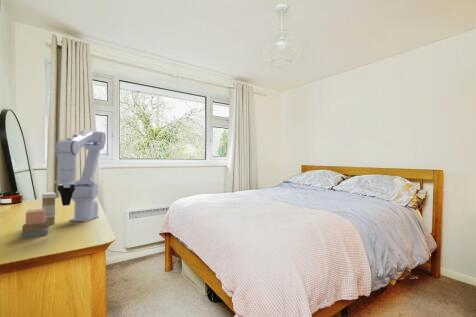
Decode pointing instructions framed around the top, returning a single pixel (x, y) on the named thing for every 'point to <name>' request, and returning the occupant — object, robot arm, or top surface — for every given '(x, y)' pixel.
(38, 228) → the tower top
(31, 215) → the block
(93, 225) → the top surface
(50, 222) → the sprinkles bottle
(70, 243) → the top surface
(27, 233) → the tower base
